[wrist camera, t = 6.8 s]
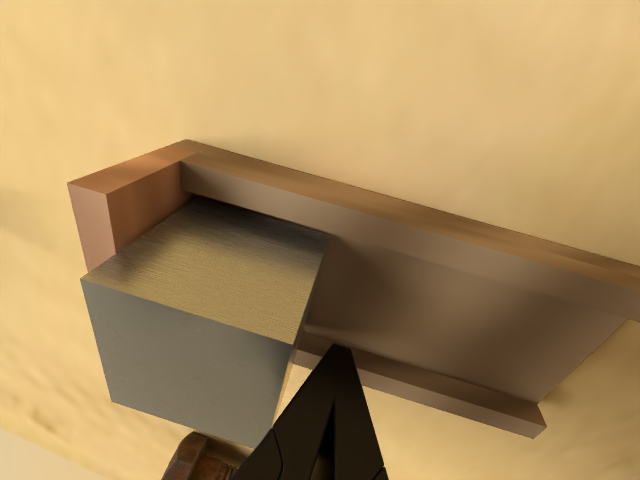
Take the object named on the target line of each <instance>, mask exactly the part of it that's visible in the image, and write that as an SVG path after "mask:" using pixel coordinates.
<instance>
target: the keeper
mask: <svg viewBox="0 0 640 480" xmlns="http://www.w3.org/2000/svg"><path fill="white" fill-rule="evenodd" d="M329 236H330V235H328V234H325V233H321V232H318V231H314V230H311V229H307V228H304V227H301V226H297V225H294V224H290V223H287V222H283V221H280V220H276V219H273V218H269V217H266V216H263V215H259V214H256V213H252V212H249V211H245V210H242V209H238V208H235V207H231V206H228V205H225V204H221V203H218V202H214V201H211V200H207V199H204V198H200V197H197V198H195V199H194V200H192V201H191V202H190V203H188V204H187V205H185V206H184V207H182V208H181V209H179V210H178V211H177V212H175V213H174V214H172V215H171V216H169V217H168V218H167V219H165V220H164V221H162V222H161V223H159V224H158V225H156V226H155V227H154V228H152V229H151V230H149V231H148V232H146V233H145V234H143V235H142V236H141V237H139V238H138V239H136V240H135V241H133V242H132V243H131V244H129V245H128V246H126V247H125V248H123V249H122V250H120V251H119V252H118V253H116V254H115V255H113V256H112V257H110V258H109V259H108V260H106V261H105V262H103V263H102V264H100V265H99V266H97V267H96V268H95V269H93V270H92V271H90V272H89V273H87V274H86V275H84V276H83V277H82V278H80V281H81V285H82V288H83V292H84V296H85V300H86V304H87V308H88V312H89V316H90V319H91V323H92V327H93V331H94V335H95V339H96V343H97V347H98V351H99V354H100V358H101V362H102V366H103V370H104V374H105V378H106V382H107V385H108V389H109V393H110V397H111V401H112V402H114V403H117V404H121V405H124V406H127V407H130V408H133V409H136V410H139V411H142V412H145V413H148V414H151V415H154V416H157V417H160V418H163V419H166V420H169V421H172V422H175V423H178V424H181V425H184V426H187V427H190V428H193V429H196V430H199V431H202V432H205V433H208V434H211V435H214V436H217V437H220V438H223V439H226V440H229V441H232V442H235V443H238V444H241V445H244V446H248V447H251V448H254V449H255V448H256V447H257V446H258V444H259V443H260V442H261V441H262V439H263V438H264V437H265V435H266V434H267V432H268V431H269V430H270V428H272V426H273V425H274V422H275V419H276V416H277V413H278V410H279V407H280V403H281V400H282V397H283V394H284V391H285V387H286V384H287V381H288V378H289V375H290V372H291V368H292V365H293V362H294V359H295V356H296V353H297V349H298V346H299V343H300V340H301V337H302V333H303V330H304V327H305V323H306V319H307V316H308V312H309V309H310V305H311V301H312V298H313V294H314V290H315V287H316V283H317V280H318V276H319V272H320V269H321V265H322V261H323V258H324V254H325V250H326V247H327V243H328V240H329Z"/></svg>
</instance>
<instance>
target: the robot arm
mask: <svg viewBox="0 0 640 480" xmlns="http://www.w3.org/2000/svg"><path fill="white" fill-rule="evenodd" d="M383 466H384V462H383V458H382V455H381V451H380V448H379V444H378V441H377V437H376V434H375V430H374V427H373V423H372V420H371V416H370V413H369V409H368V406H367V402H366V399H365V395H364V392H363V388H362V385H361V381H360V378H359V374H358V371H357V367H356V364H355V361H354V357H353V354H352V350H351V349H350V348H348V347H345V346H342V345H339V344H336V343H333V344H332V345H331V346H330V348H329V349H328V350H327V352H326V353H325V354H324V356H323V357H322V359H321V360H320V361H319V363H318V364H317V365H316V367H315V368H314V370H313V371H312V372H311V374H310V375H309V376H308V378H307V379H306V381H305V382H304V383H303V385H302V386H301V387H300V389H299V390H298V392H297V393H296V394H295V396H294V397H293V398H292V400H291V401H290V403H289V404H288V405H287V407H286V408H285V409H284V411H283V412H282V414H281V415H280V416H279V418H278V419H277V420H276V422H275V423H274V425H273V426H272V428H270V430H269V431H268V432H267V434H266V435H265V437H264V438H263V439H262V441H261V442H260V443H259V444H258V446H257V447H256V448H255V450H254V451H253V452H252V453H251V455H250V456H249V457H248V458H247V459H246V461H245V462H244V463H243V464H242V465H241V466H240V467H239V469H238V470H237V471H236V472H235V473H234V474H233V475H232V476H231V477H230V479H229V480H389V479H388V475H387V472H386V468H385V467H383Z"/></svg>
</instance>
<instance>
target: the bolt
mask: <svg viewBox="0 0 640 480" xmlns="http://www.w3.org/2000/svg"><path fill="white" fill-rule="evenodd" d="M207 439H208V437H207V436H204V435H201V434H199V433H196V432H192V433H190V434H189V435H187V436H186V437H185V438H184V439H183V440H182V441H181V443H180V444H179V446H178V448H177V450H176V452H175V454H174V455H173V457H172V459H171V461H170V463H169V465H168V467H167V469H166V471H165V473H164V475H163V477H162V479H161V480H229V479H230V477H231V476H232V475H233V474H234V473H235V472H236V471H237V469H236V466H235V467H234V468H233V469H232V465H230V466H229V467H228V464H226V463H224V462H223V461H222V460H219V459H216V458H213V457H210V456H207V455H205V450H206V444H207Z"/></svg>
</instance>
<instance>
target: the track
mask: <svg viewBox="0 0 640 480" xmlns="http://www.w3.org/2000/svg"><path fill="white" fill-rule="evenodd" d="M67 186H68V190H69V194H70V198H71V203H72V207H73V211H74V215H75V219H76V224H77V228H78V232H79V236H80V241H81V245H82V249H83V253H84V258H85V262H86V266H87V270H88V273H89V272H90V271H92V270H93V269H95V268H96V267H97V266H99V265H100V264H102V263H103V262H105V261H106V260H108V259H109V258H110V257H112V256H113V255H115V254H116V253H118V252H119V251H120V250H122V249H123V248H125V247H126V246H128V245H129V244H131V243H132V242H133V241H135V240H136V239H138V238H139V237H141V236H142V235H143V234H145V233H146V232H148V231H149V230H151V229H152V228H154V227H155V226H156V225H158V224H159V223H161V222H162V221H164V220H165V219H167V218H168V217H169V216H171V215H172V214H174V213H175V212H177V211H178V210H179V209H181V208H182V207H184V206H185V205H187V204H188V203H190V202H191V201H192V200H194V199H195V198H197V197H200V198H204V199H207V200H211V201H214V202H218V203H221V204H225V205H228V206H231V207H235V208H238V209H242V210H245V211H249V212H252V213H256V214H259V215H263V216H266V217H269V218H273V219H276V220H280V221H283V222H287V223H290V224H294V225H297V226H301V227H304V228H307V229H311V230H314V231H318V232H321V233H325V234H328V235H330V236H329V240H328V243H327V247H326V250H325V254H324V258H323V261H322V265H321V269H320V272H319V276H318V280H317V283H316V287H315V290H314V294H313V298H312V301H311V305H310V309H309V312H308V316H307V319H306V323H305V327H304V330H303V333H302V337H301V340H300V343H299V346H298V349H297V353H296V356H295V359H294V362H293V364H296V365H299V366H302V367H305V368H309V369H312V370H314V368H315V367H316V365H317V364H318V363H319V361H320V360H321V359H322V357H323V356H324V354H325V353H326V352H327V350H328V349H329V348H330V346H331V345H332V344H333V343H336V344H339V345H342V346H345V347H348V348H350V349H351V350H352V354H353V357H354V361H355V364H356V367H357V371H358V374H359V378H360V381H361V385H363V386H366V387H369V388H372V389H376V390H379V391H382V392H385V393H388V394H391V395H395V396H398V397H401V398H404V399H407V400H411V401H414V402H417V403H420V404H423V405H427V406H430V407H433V408H436V409H439V410H442V411H446V412H449V413H452V414H455V415H458V416H462V417H465V418H468V419H471V420H474V421H478V422H481V423H484V424H487V425H490V426H493V427H497V428H500V429H503V430H506V431H509V432H513V433H516V434H519V435H522V436H525V437H529V438H532V439H534V438H535V437H536V436H537V435H539V434H540V433H541V432H542V431H543V430H544V429H546V428H547V426H546V423H545V421H544V419H543V417H542V414H541V412H540V410H539V408H538V405H537V404H538V403H539V402H540V401H541V400H542V399H543V398H544V397H545V396H546V395H547V394H548V393H549V392H551V391H552V390H553V389H554V388H555V387H556V386H557V385H558V384H559V383H560V382H561V381H562V380H563V379H564V378H566V377H567V376H568V375H569V374H570V373H571V372H572V371H573V370H574V369H575V368H576V367H577V366H578V365H579V364H580V363H582V362H583V361H584V360H585V359H586V358H587V357H588V356H589V355H590V354H591V353H592V352H593V351H594V350H595V349H596V348H598V347H599V346H600V345H601V344H602V343H603V342H604V341H605V340H606V339H607V338H608V337H609V336H610V335H611V334H612V333H614V332H615V331H616V330H617V329H618V328H619V327H620V326H621V325H622V324H623V323H624V322H625V321H626V320H627V319H631V320H635V321H638V322H640V267H639V266H636V265H632V264H629V263H625V262H621V261H618V260H614V259H611V258H607V257H604V256H600V255H596V254H593V253H589V252H586V251H582V250H579V249H575V248H571V247H568V246H564V245H561V244H557V243H554V242H550V241H547V240H543V239H539V238H536V237H532V236H529V235H525V234H522V233H518V232H514V231H511V230H507V229H504V228H500V227H497V226H493V225H489V224H486V223H482V222H479V221H475V220H472V219H468V218H464V217H461V216H457V215H454V214H450V213H447V212H443V211H439V210H436V209H432V208H429V207H425V206H422V205H418V204H415V203H411V202H407V201H404V200H400V199H397V198H393V197H390V196H386V195H382V194H379V193H375V192H372V191H368V190H365V189H361V188H357V187H354V186H350V185H347V184H343V183H340V182H336V181H332V180H329V179H325V178H322V177H318V176H315V175H311V174H307V173H304V172H300V171H297V170H293V169H290V168H286V167H282V166H279V165H275V164H272V163H268V162H265V161H261V160H258V159H254V158H250V157H247V156H243V155H240V154H236V153H233V152H229V151H225V150H222V149H218V148H215V147H211V146H208V145H204V144H200V143H197V142H193V141H190V140H186V139H185V140H182V141H180V142H177V143H174V144H172V145H169V146H166V147H163V148H161V149H158V150H155V151H152V152H150V153H147V154H144V155H142V156H139V157H136V158H133V159H131V160H128V161H125V162H122V163H120V164H117V165H114V166H112V167H109V168H106V169H103V170H101V171H98V172H95V173H92V174H90V175H87V176H84V177H82V178H79V179H76V180H73V181H71V182H68V183H67Z"/></svg>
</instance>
